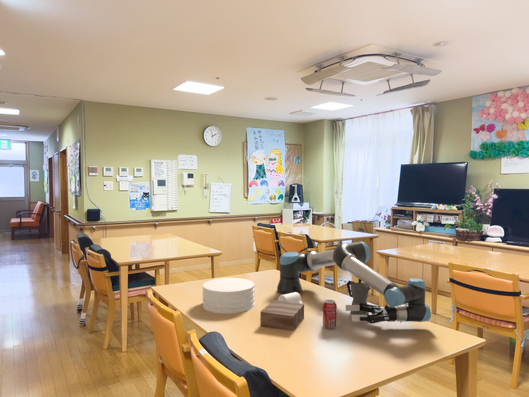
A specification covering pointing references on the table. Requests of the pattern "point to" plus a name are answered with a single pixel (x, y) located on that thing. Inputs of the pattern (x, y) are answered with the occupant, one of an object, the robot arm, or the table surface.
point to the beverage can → (329, 314)
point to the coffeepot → (358, 295)
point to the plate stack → (228, 295)
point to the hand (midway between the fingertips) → (348, 312)
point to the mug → (291, 298)
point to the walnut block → (282, 315)
